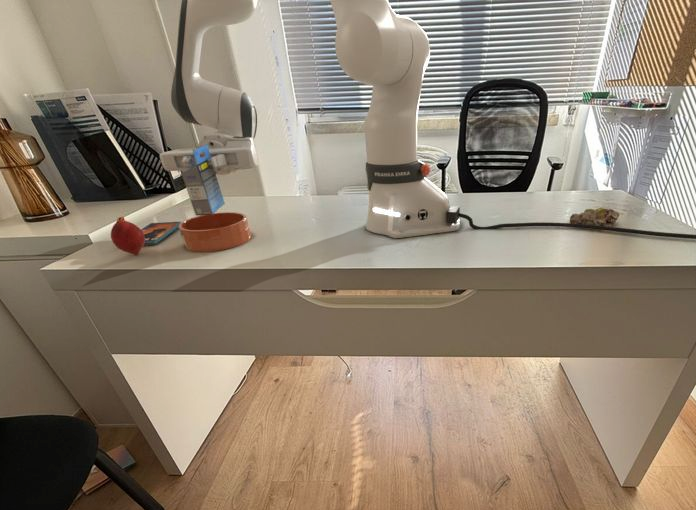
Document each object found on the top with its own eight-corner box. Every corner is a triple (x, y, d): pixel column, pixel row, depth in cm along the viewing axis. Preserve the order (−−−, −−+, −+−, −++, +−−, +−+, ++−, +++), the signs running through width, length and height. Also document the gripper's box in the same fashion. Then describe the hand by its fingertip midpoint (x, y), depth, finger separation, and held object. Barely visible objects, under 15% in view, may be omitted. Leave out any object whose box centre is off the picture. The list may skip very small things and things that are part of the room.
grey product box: (208, 205, 89) (189, 145, 82) (225, 204, 89) (208, 144, 82) (195, 215, 82) (172, 151, 75) (213, 214, 82) (193, 149, 75)
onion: (136, 259, 81) (119, 221, 76) (113, 258, 82) (95, 220, 77) (156, 250, 85) (141, 213, 81) (134, 249, 86) (118, 212, 82)
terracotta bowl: (257, 229, 95) (252, 210, 92) (242, 249, 83) (236, 228, 81) (199, 232, 95) (192, 214, 92) (175, 253, 83) (167, 232, 80)
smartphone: (118, 243, 87) (150, 222, 100) (121, 249, 88) (152, 228, 100) (153, 240, 87) (181, 219, 99) (156, 246, 88) (183, 225, 100)
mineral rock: (608, 206, 91) (627, 205, 84) (606, 225, 93) (625, 226, 85) (562, 210, 91) (577, 209, 84) (561, 229, 93) (576, 230, 85)
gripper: (170, 141, 90) (141, 150, 79) (258, 136, 91) (242, 144, 80) (180, 171, 94) (154, 183, 83) (265, 165, 95) (250, 177, 83)
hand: (198, 163), depth 81 cm, fingers closed on grey product box, 4 cm apart
